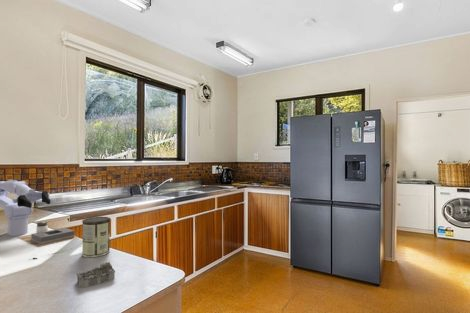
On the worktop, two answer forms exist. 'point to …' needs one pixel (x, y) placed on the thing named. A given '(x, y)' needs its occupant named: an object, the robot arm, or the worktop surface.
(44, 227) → the cylinder
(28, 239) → the board
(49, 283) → the worktop surface
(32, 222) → the worktop surface
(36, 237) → the grey square frame plate
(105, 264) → the egg carton
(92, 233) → the coffee can
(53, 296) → the worktop surface
